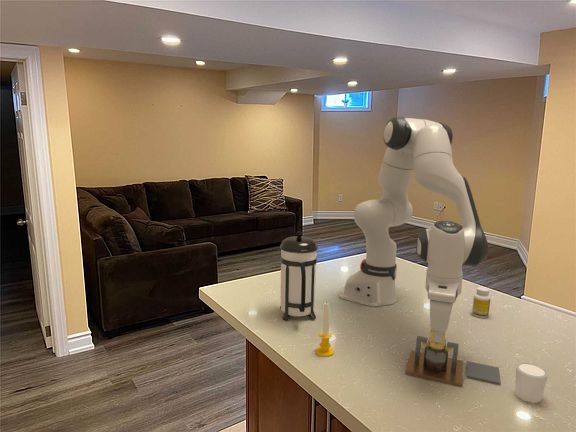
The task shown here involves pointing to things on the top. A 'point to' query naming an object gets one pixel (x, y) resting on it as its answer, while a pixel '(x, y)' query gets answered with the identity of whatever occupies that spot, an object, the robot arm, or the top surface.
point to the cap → (436, 344)
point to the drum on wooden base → (435, 364)
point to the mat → (483, 373)
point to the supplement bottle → (481, 303)
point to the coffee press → (298, 276)
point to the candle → (325, 335)
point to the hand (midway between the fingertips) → (439, 333)
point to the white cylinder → (530, 382)
